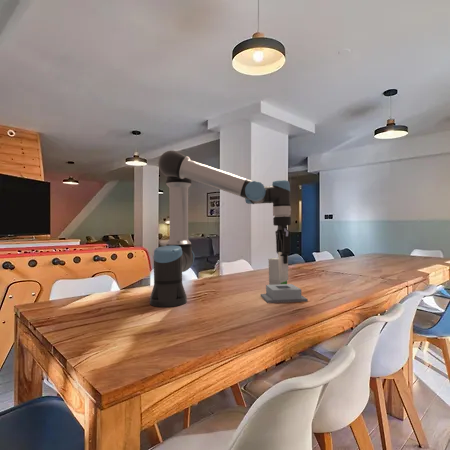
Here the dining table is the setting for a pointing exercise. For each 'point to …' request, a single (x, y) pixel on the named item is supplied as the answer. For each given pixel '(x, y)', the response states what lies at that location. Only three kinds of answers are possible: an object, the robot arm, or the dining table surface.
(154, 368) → the dining table surface
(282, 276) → the dowel
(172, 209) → the robot arm
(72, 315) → the dining table surface
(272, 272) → the skincare box
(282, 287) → the socket
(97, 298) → the dining table surface
